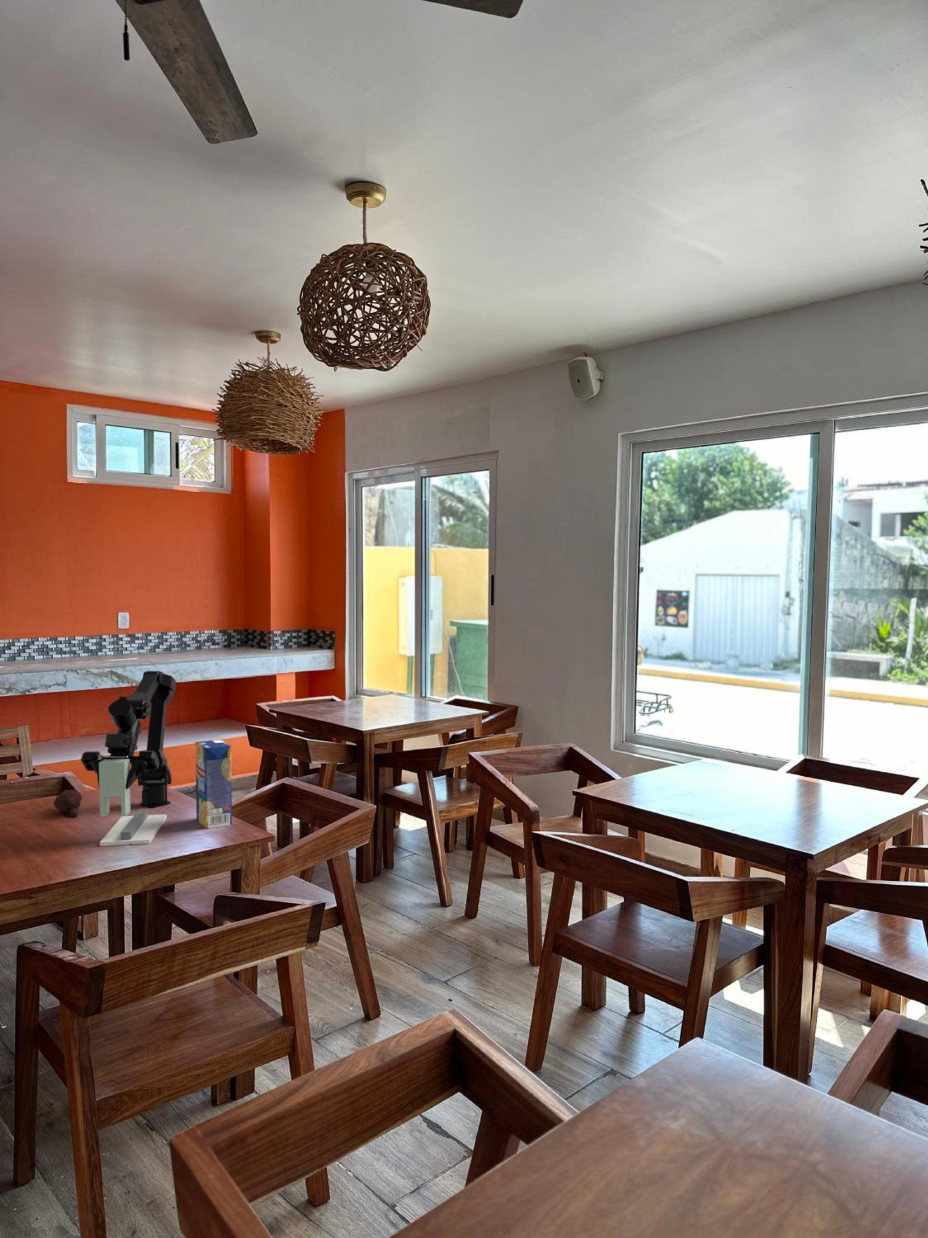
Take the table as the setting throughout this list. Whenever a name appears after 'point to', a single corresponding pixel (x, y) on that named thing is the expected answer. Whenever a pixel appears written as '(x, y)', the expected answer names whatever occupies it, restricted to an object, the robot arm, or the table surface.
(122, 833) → the rail
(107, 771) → the clip
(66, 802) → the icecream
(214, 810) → the beverage box
